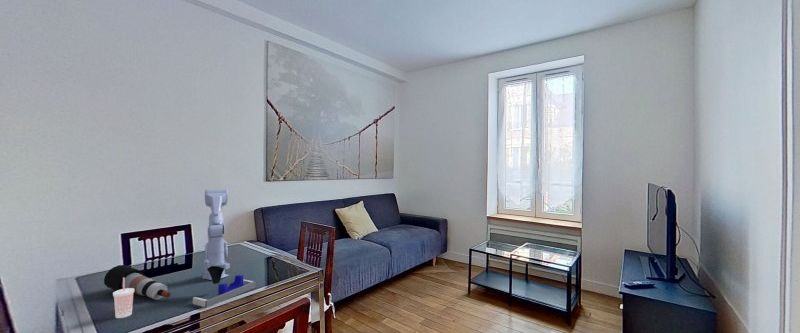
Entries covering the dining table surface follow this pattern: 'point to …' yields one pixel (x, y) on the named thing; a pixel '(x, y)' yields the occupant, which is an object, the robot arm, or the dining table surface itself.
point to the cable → (135, 282)
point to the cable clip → (231, 285)
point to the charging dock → (225, 295)
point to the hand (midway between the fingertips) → (216, 283)
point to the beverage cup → (123, 301)
